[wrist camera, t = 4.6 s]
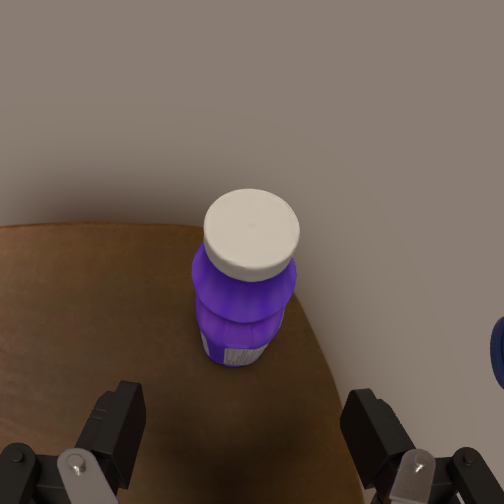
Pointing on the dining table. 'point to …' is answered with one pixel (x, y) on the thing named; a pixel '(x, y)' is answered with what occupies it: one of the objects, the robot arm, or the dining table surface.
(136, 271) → the dining table surface
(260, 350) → the bottle
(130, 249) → the dining table surface
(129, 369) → the dining table surface
